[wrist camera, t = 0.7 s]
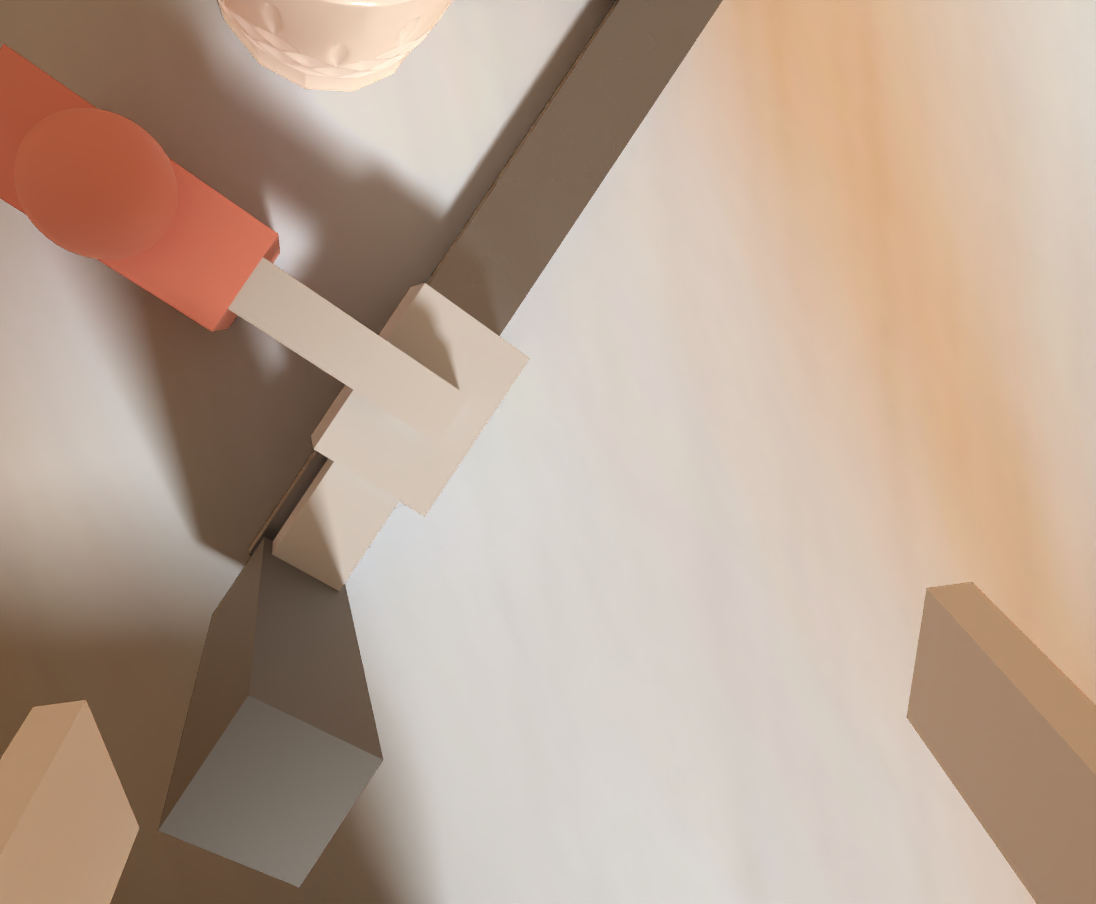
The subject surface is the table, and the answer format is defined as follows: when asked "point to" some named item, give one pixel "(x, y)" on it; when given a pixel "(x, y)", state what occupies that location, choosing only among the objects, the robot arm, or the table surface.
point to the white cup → (332, 37)
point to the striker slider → (326, 507)
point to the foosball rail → (553, 173)
